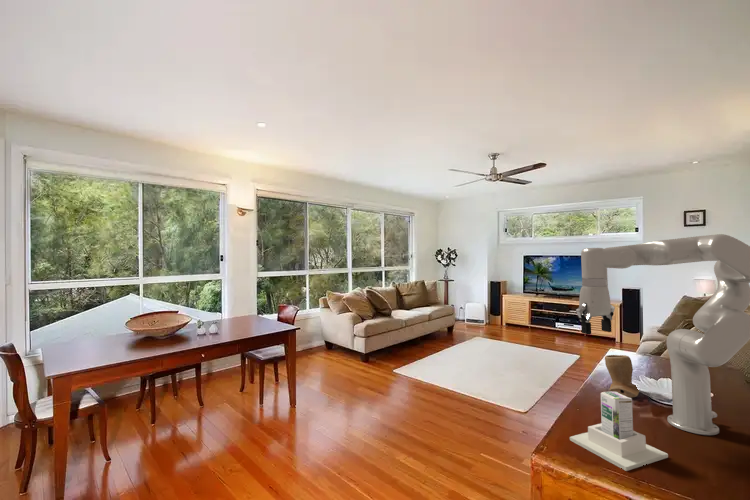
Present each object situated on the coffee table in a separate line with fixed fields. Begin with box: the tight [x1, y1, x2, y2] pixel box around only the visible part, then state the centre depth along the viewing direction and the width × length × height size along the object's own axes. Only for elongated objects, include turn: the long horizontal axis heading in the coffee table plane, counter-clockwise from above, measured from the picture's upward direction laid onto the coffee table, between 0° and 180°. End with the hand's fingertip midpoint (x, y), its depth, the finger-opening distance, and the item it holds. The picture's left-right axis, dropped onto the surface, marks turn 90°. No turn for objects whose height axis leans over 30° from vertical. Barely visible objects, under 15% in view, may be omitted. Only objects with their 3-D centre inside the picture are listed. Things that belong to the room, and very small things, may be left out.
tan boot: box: [604, 354, 641, 398], centre depth 144 cm, size 15×12×15 cm
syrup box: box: [600, 391, 634, 440], centre depth 102 cm, size 6×6×14 cm
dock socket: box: [569, 422, 669, 472], centre depth 102 cm, size 17×17×5 cm
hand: (596, 332), depth 120 cm, fingers open, 9 cm apart
